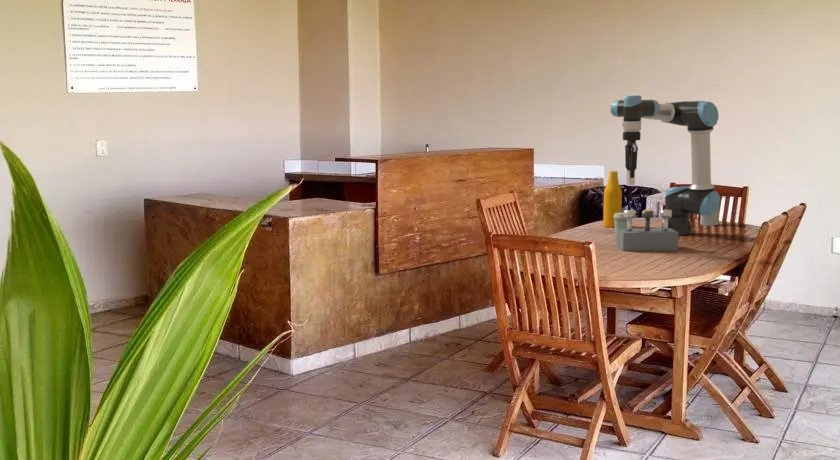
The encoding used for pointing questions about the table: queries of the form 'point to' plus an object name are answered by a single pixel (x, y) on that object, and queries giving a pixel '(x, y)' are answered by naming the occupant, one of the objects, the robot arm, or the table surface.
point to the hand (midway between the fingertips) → (630, 184)
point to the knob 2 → (665, 218)
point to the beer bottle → (612, 199)
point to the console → (647, 240)
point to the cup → (710, 219)
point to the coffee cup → (620, 221)
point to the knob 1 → (629, 218)
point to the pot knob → (647, 218)
